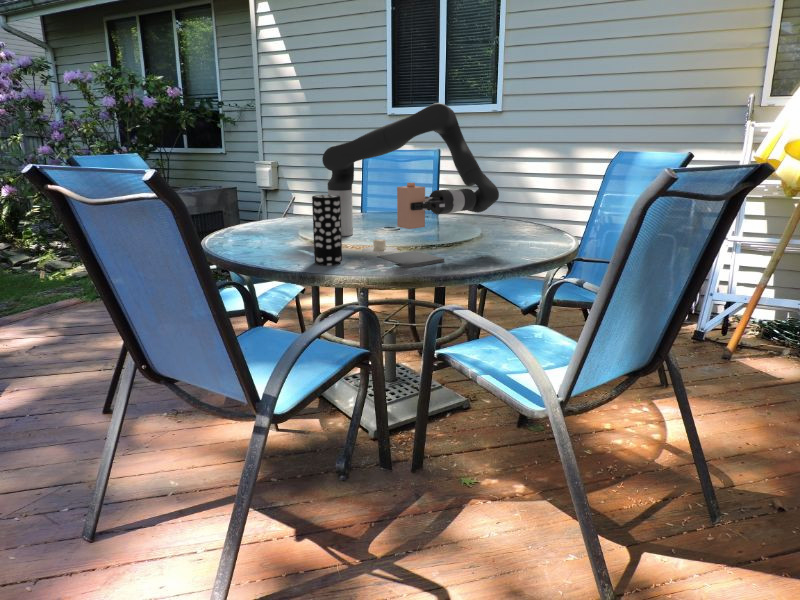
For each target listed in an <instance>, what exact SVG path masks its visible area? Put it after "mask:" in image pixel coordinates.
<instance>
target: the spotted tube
mask: <svg viewBox="0 0 800 600" xmlns="http://www.w3.org/2000/svg"><path fill="white" fill-rule="evenodd" d="M311 202H312V204H311V205H312V207H311V208H312V225H313V226H312V228H313V229H312V230H313V251H314V252H313V253H314V256H313V257H314V264H315V265H318V266H325V267H327V266H337V265H340V264H342V261H343V249H342V248H343V247H342V243H343V242H342V236H341V203H340V196H338V195H328V194H316V195H312V196H311Z"/></svg>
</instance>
